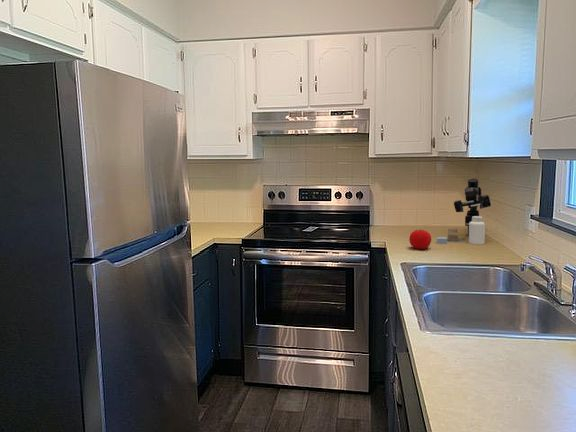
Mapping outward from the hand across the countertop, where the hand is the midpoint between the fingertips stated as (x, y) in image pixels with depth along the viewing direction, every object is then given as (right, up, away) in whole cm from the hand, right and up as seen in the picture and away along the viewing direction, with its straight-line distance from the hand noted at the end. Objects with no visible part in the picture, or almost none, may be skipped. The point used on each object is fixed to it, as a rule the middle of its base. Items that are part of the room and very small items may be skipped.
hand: (471, 209), depth 253 cm
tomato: (-30, -21, -8) cm, 37 cm away
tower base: (-7, -17, +9) cm, 21 cm away
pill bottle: (+3, -19, +1) cm, 19 cm away
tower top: (-7, -14, +9) cm, 18 cm away
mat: (-7, -18, +10) cm, 22 cm away
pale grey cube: (-15, -19, +3) cm, 24 cm away
